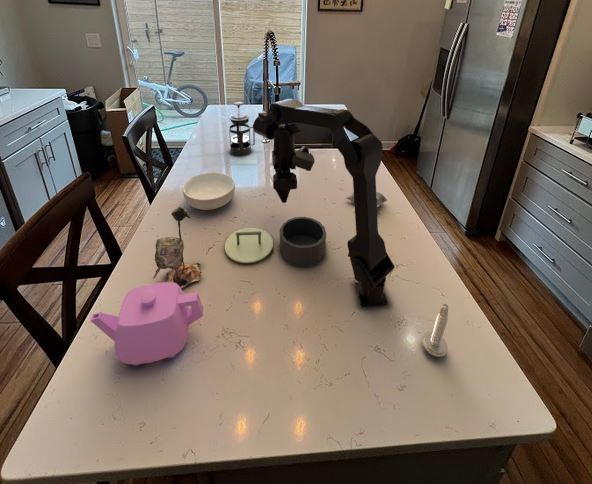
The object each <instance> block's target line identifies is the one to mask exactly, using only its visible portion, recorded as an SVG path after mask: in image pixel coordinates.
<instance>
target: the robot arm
mask: <svg viewBox="0 0 592 484" xmlns="http://www.w3.org/2000/svg"><path fill="white" fill-rule="evenodd" d="M257 115H258V116H257V117H256V118H255V120H254V121H253V124H252V126H253V128H252V131H253V130H254V133H255V134H257V135H259V136H261V137H263V138H265V139H267V140H272V141H273V143H272V144H273V145H272V149H273V150H272V151H271V162H272V166H273V170H274V171H275V173H274V174H273V175H272V187H273V188H272V189H273V190H274V191H275V192H276V194H277V196H278V198H279V200H280V201H281V203H282V204H286V203H287V201H288V199H289V195H290V192H291V191H292V190H297V189H298V178H297V175H296V174H295V173H294V172H291V170H296V169H297V168H299V169H301V170H305V171H306V172H311V171H312V169H313V166H314V164H315V162H316V161H315V156H314V155H313V154H312V152H310V149H309V147H308V146H305V145H302V147H301V148H299V149H296V145H295V135H298V134H300V133H301V131H302V130H301V129H300V128H299V127H298V126H297V125H296V123H298V124H303V125H309V126H313V127H320V128H325V129H329V130H330V132H331V134H332V136H333V142H334V145H335V148H336V149H337V150H338V152H339V153H340V154H341V156H342V157H343V161H344V166H345V169H346V170H347V172H348V173H349V175H350V176H351V178H352V187H353V189H352V190H353V192H354V202H353V203H354V205H353V206H354V220H355V221H354V222H355V235H354V236H352V237H351V238H350V239H348V240H347V250H348V255H347V257H348V258H349V260H350V264H351V267H352V271H353V272H352V273H353V276H354V280H355V281H356V282H354V288H355V291H356V295H357V298H358V301H359V304H360V306H361V307H362V308H363V307H379V306H380V307H381V306H388V304H389V302H388V299H387V297H386V294H385V286H386V280H387V276H388V275H389V274H391V273H392V272H393V270H395V268H396V266H395V265H394V263H393V261H392V258H391V257H390V256H389V254H388V252H387V248H386V244H385V240H384V239H383V238H382V236H381V235H380V234H379V225H378V207H377V198H376V192H377V179H376V177H377V173H378V171H379V168H380V167H381V163H382V159H383V157H382V156H383V151H384V146H383V142H382V141H381V140H380V139H379V138H378V137H377V136H376V135H375V134H374V132H373V131H372V130H371V129H370V128H369V127H368V126H367V125H366V124H364V123H363V122H361V121H360V120H358V119H356V117H354V115H353V114H352V113H351V112H350V111H349V110H348V109H344V108H341V109H335V108H330V107H329V108H327V107H321V106H312V105H305V104H303V103H302V102H301V101H299V100H297V99H293V98H287V99H283V100H279V101H276V102H272V103H270V107H269V109H268V111H261V112H260V111H259V112H258V113H257ZM345 129H346V130H347V131H348V132H350V133H352V134H353V135H355V136H356V138H354V139H352V140H349V138H348V137H347V135H346V131H345Z"/></svg>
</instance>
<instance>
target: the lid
mask: <svg viewBox="0 0 592 484" xmlns="http://www.w3.org/2000/svg"><path fill="white" fill-rule="evenodd" d="M273 248H274V240H273V237H272V235H271V234H270V233H269V232H268V231H266V230H264V229H262V228H258V227H244V228H241V229H238V230H236V231H234V232H232V233H231V234H230V235H229V236H228V237H227V239H226V240H225V243H224V252H225V255H226V256H227V257H228V258H229V259H230V260H232V261H234V262H236V263H240V264H253V263H256V262H260V261H262V260H264V259H265V258H267V257H268V256H269V255H270V254H271V252H272V250H273Z"/></svg>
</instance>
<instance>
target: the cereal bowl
mask: <svg viewBox="0 0 592 484" xmlns="http://www.w3.org/2000/svg"><path fill="white" fill-rule="evenodd" d="M235 190H236V182H235V180H234V178H233V177H232V176H230V175H229V174H227V173H223V172H218V171H210V172H209V171H208V172H203V173H198V174H196V175H193V176H191V177H190V178H189V179H187V180H186V181H185V182H184V184H183V186H182V194H183V198H184V200H185V202H186V203H187V204H188V205H189V206H191V207H192V208H194V209H197V210H201V211H209V210H210V211H211V210H215V209H219V208H221V207H224V206H225V205H226V204H228V203H229V202H230V201H231V200H232V199H233V196H234V194H235Z"/></svg>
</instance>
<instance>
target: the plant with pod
mask: <svg viewBox="0 0 592 484" xmlns="http://www.w3.org/2000/svg"><path fill="white" fill-rule="evenodd" d="M171 216H172V218H173V219H174V220H175V221H176V222H177V227H178V237H176V236H167V237H160V238H158V237H159V235H156V238H157V239H156V241H155V254H154V262H155V265H156V267H157V269H156V270H155V272H154V275H153V277H152V279H153V280H154V279H155V278H156V277H157V275H158V274H159V273H160V271H161V270H166V269H170V270H169V271H167V272H166V273H165V275H164V276H165V279H166V281H165V282H173V283H176V284H178V286H179V287H180V288H181V289H183V288H184V287H186V286H188V285H189V284H193V282H197V281H200V279H201V276H202V271H201V263H199V262H196V263H193V264H191V263H185V261H184V249H185V245H184V244H185V242H184V240H183V239H182V233H181V222H182V221H183V220H185V219H186V218H187V219H191V216H190V215H189V213H188V210H187V209H185V207H184V206H177V208H175V209H174V210H172V211H171Z"/></svg>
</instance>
